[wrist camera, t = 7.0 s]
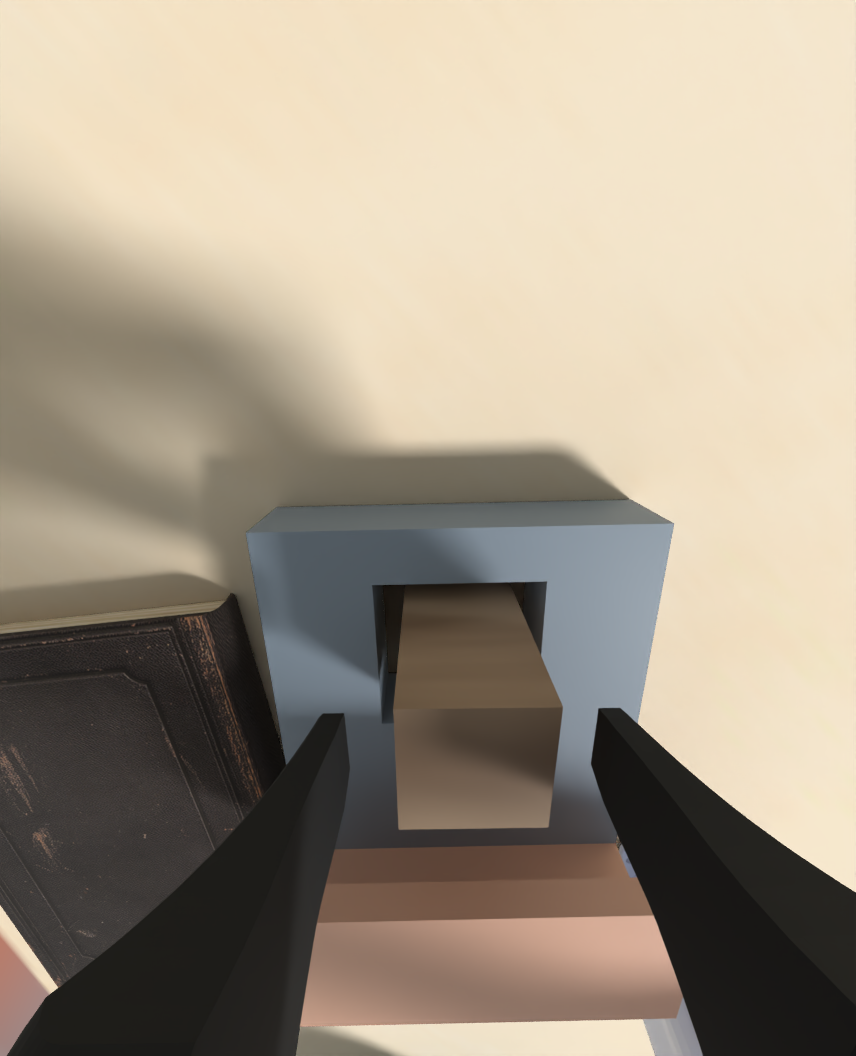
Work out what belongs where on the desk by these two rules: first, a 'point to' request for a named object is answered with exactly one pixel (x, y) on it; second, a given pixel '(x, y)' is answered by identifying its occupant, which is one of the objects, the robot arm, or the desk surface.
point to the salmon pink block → (486, 938)
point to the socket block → (444, 558)
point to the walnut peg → (472, 712)
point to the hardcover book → (122, 766)
